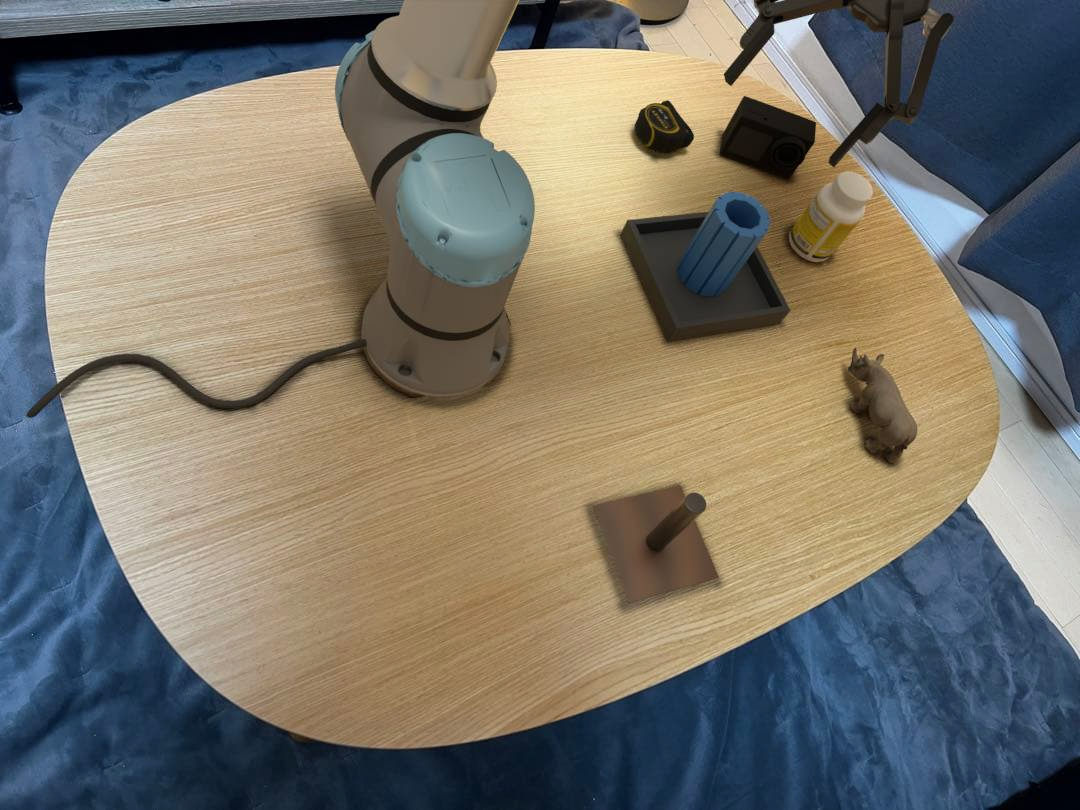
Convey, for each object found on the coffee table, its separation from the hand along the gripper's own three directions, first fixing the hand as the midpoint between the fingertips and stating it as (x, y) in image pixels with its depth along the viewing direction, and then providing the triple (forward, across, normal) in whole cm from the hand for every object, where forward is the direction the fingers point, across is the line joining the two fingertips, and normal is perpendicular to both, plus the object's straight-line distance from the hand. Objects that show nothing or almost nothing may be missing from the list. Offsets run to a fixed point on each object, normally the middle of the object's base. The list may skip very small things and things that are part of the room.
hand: (778, 121), depth 85 cm
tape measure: (+7, +15, -25) cm, 30 cm away
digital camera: (0, +4, -31) cm, 31 cm away
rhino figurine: (+16, -27, -15) cm, 35 cm away
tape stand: (+39, -19, +8) cm, 44 cm away
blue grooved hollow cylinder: (+16, -3, -14) cm, 21 cm away
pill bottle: (+5, -9, -26) cm, 28 cm away
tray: (+17, -3, -14) cm, 22 cm away
